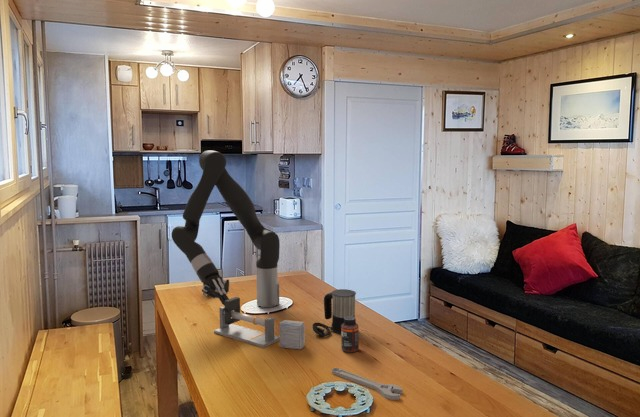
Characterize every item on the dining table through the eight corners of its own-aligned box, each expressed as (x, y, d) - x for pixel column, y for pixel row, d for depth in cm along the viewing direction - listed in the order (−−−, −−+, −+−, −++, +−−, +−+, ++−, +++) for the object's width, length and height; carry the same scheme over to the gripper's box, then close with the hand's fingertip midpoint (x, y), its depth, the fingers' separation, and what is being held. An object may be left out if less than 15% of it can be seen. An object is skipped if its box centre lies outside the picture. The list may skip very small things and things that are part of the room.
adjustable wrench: (329, 374, 158) (329, 369, 158) (343, 368, 162) (343, 363, 162) (393, 402, 140) (393, 396, 140) (407, 395, 144) (408, 389, 144)
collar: (225, 323, 190) (224, 300, 189) (236, 319, 195) (236, 296, 194) (228, 324, 189) (228, 301, 188) (240, 320, 194) (239, 297, 193)
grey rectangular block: (206, 296, 239) (205, 275, 238) (197, 295, 242) (196, 274, 240) (224, 289, 252) (223, 269, 250) (215, 287, 254) (214, 268, 253)
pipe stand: (213, 332, 192) (213, 309, 191) (231, 325, 200) (230, 303, 198) (263, 347, 178) (263, 322, 177) (280, 339, 185) (279, 315, 184)
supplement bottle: (358, 346, 178) (359, 315, 177) (358, 353, 173) (358, 321, 171) (341, 346, 179) (341, 314, 178) (340, 352, 173) (340, 320, 172)
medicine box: (305, 345, 180) (305, 321, 179) (300, 350, 176) (300, 325, 175) (284, 342, 182) (284, 319, 181) (279, 347, 178) (279, 323, 177)
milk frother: (359, 328, 197) (359, 290, 195) (343, 342, 183) (343, 301, 181) (325, 322, 203) (325, 286, 201) (308, 336, 189) (307, 297, 187)
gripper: (195, 265, 191) (219, 303, 186) (221, 259, 202) (244, 294, 196) (186, 277, 195) (209, 314, 189) (213, 270, 206) (235, 305, 200)
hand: (227, 304), depth 193 cm, fingers closed
